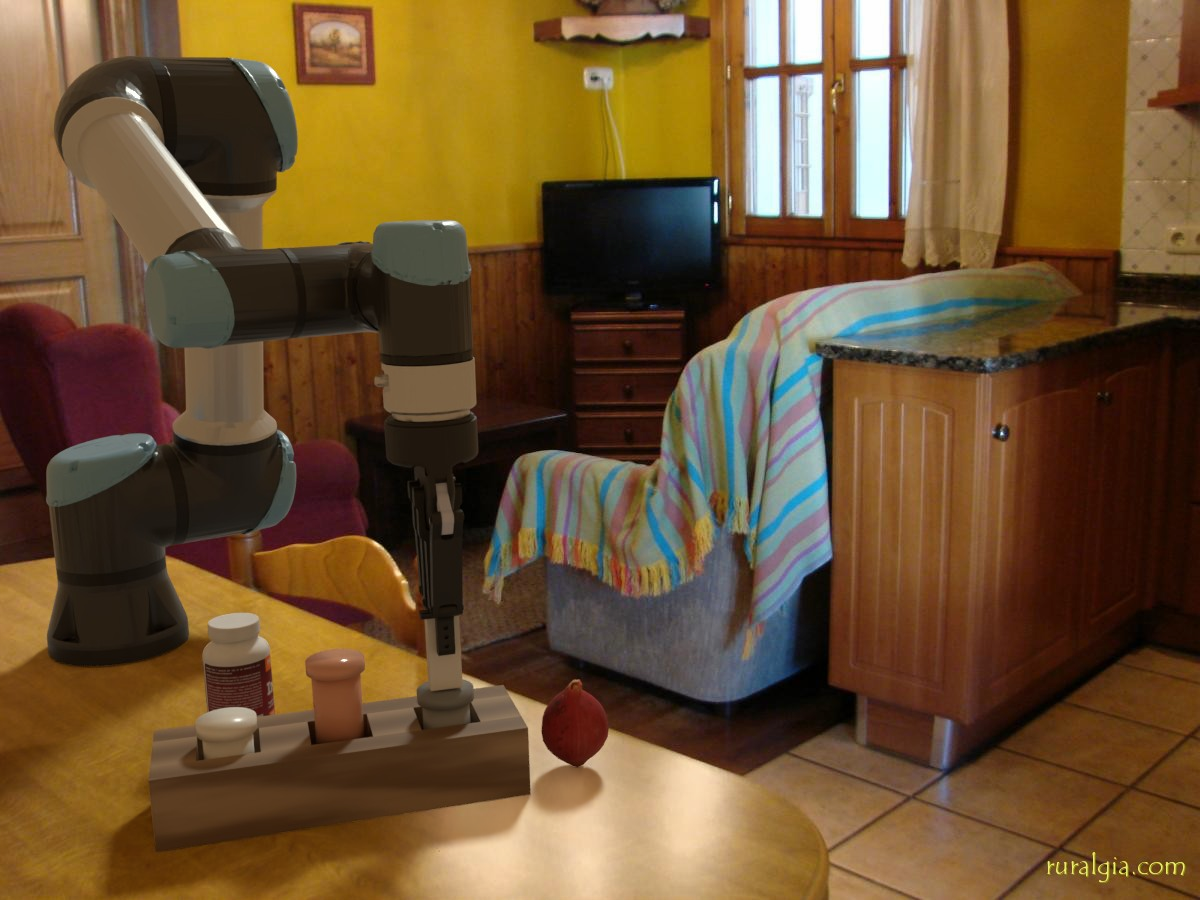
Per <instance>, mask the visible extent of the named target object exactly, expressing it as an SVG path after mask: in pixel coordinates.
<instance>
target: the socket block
mask: <svg viewBox="0 0 1200 900" xmlns="http://www.w3.org/2000/svg"><path fill="white" fill-rule="evenodd" d="M473 689H474V700H473V701H472V702H471V703H470V723H469V724H461V725H454V726H447V727H440V728H432V729H425V730H424V727H423V709H422V707H421V706H419V705H418V703H417V695H415V696H407V697H400V698H399V697H398V698H392V699H386V700H385V699H383V700H377V701H369V702H362V704H363V719H364V734H365V738H359V739H352V740H345V741H338V742H330V743H323V744H316V733H315V720H314V709H308V710H300V711H294V712H292V711H291V712H284V713H278V714H276V713H275V715H268V716H261V717H257V729H256V731H255V732H254V733H253V740H254V751H255V753H250V754H243V755H236V756H228V757H221V758H214V759H207V760H204V753H203V742H202V740H200V739H199V738H198V737H197V734H196V724H192V725H187V726H185V725H184V726H177V727H172V728H171V727H170V728H162V729H154V730H153V736H152V737H153V738H152V745H151V754H150V762H149V763H150V764H149V772H148V779H147V780H148V781H147V782H148V790H149V791H148V792H149V799H150V800H149V801H150V809H151V817H152V818H151V820H152V827H153V829H152V830H153V840H154V848H155V853H158V852H164V851H165V852H166V851H172V850H179V849H185V848H191V847H197V846H198V847H199V846H204V845H210V844H218V843H225V842H231V841H237V840H243V839H249V838H258V837H263V836H271V835H276V834H282V833H288V832H296V831H302V830H303V831H304V830H309V829H314V828H321V827H328V826H334V825H341V824H347V823H354V822H361V821H367V820H373V819H380V818H385V817H387V818H388V817H394V816H399V815H405V814H411V813H419V812H426V811H431V810H437V809H438V810H439V809H446V808H452V807H458V806H459V807H460V806H466V805H470V804H471V805H472V804H477V803H484V802H492V801H496V800H503V799H511V798H517V797H523V796H529V795H531V794H532V793H531V792H532V791H531V789H532V788H531V769H530V768H531V767H530V744H529V743H530V741H529V727H528V724H527V723H526V722H525V720H524V718H523V717H522V715H521V713H520V711H519V709H518V707H517V706H516V704H515V703H514V701H513V699H512V698H511V695H510V694H509V692H508V691H507V689H506V687H505V685H504V684H501V685H500V684H499V685H492V686H484V687H476V688H473Z"/></svg>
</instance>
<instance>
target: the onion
mask: <svg viewBox="0 0 1200 900" xmlns="http://www.w3.org/2000/svg"><path fill="white" fill-rule="evenodd" d="M609 729H610V727H609V721H608V717H607V714H606V711H605V708H604V707H603V705H602V704H601V703H600V701H599V700H598V699H596V697H594V696H593V695H592V694H590V693H589V692H587V691H585V690H584V689H583V683H582V681H581V679H572V681H570V683H568V685H567V686H566V687H565V689H563V690H562V691H560V692H559V693H557V694H556V695H555V696H554V697H553V698H552V699H551V700H550V701H549V703H548V704H547V705H546V707H545V709H544V711H543V715H542V719H541V738H542V742H543V743H544V745H545V748H546V749H547V750H548V751H549V752H550V753H551V754H552V755H553V756H555V757H556V758H557V759H558V760H560V761H562V762H564V763H566V764H568V765H569V766H572V767H575V768H580V767H582V766H584V765H585V764H586V762H587V761H589V760H590V759H591V758H592V757H594V756H596V755H597V753H598V752H599V751H600V750H602V748H603V747H604V746H605V743H606V741H607V740H608V737H609Z"/></svg>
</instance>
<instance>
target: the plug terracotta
mask: <svg viewBox="0 0 1200 900" xmlns="http://www.w3.org/2000/svg"><path fill="white" fill-rule="evenodd" d="M304 661H305V662H304V663H305V664H304V665H305V675H306V677H307V678H309V679H310V680H311V690H312V693H311V694H312V703H313V706H312V707H313V710H314V720H315V733H316V744H323V743H330V742H338V741H345V740H352V739H359V738H365V734H364V719H363V704H362V703H363V694H362V693H363V690H362V677H361V674H362V673H364V671H365V670H366V669H365V668H366V662H365V654H364V653H363V652H362V651H359V650H356V649H352V648H351V649H350V648H333V649H326V650H321V651H319V652H315V653H313V654H310V655H309V656H307V658H305V660H304Z"/></svg>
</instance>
